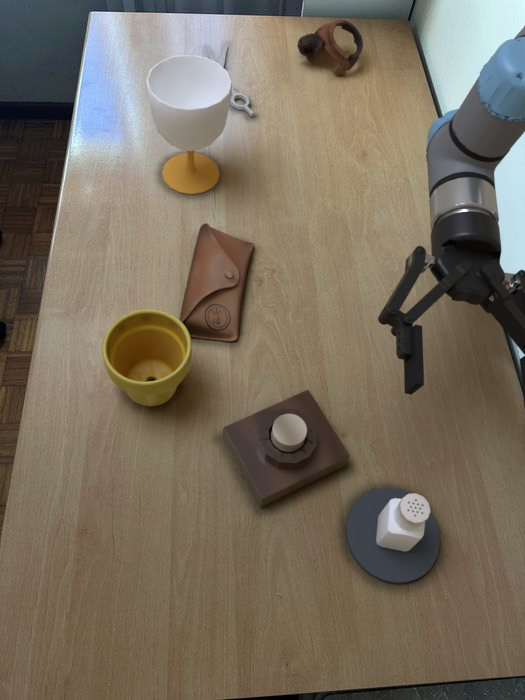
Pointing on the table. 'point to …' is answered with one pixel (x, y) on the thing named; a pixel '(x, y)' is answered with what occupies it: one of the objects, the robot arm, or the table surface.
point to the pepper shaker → (402, 522)
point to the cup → (189, 116)
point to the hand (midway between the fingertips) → (476, 401)
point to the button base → (278, 466)
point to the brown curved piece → (331, 44)
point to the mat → (385, 560)
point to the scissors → (234, 93)
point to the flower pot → (147, 355)
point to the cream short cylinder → (288, 432)
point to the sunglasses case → (215, 286)
